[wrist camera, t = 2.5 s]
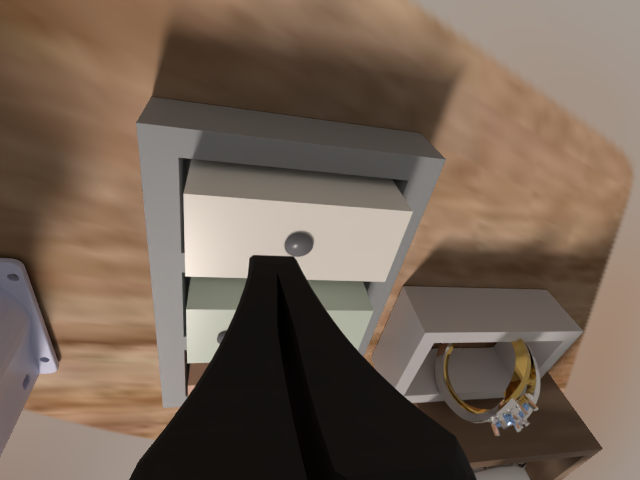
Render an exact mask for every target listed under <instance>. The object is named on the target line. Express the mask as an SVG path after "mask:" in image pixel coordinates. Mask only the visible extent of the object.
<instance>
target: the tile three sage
mask: <svg viewBox="0 0 640 480" xmlns="http://www.w3.org/2000/svg"><path fill="white" fill-rule="evenodd" d="M246 280H247V278H221V277H191V280H190V286H189V293H188V300H187V306H186V329H187V363H210V361H211V360H212V358H213V356H214V354H215V352H216V351H217V349H218V347H219V345H220V343H221V341H222V339H223V337H224V335H225V333H226V331H227V329H228V327H229V325H230V323H231V320H232V318H233V316H234V314H235V311H236V309H237V307H238V304H239V301H240V298H241V296H242V293H243V290H244V287H245V283H246ZM307 281H308V282H309V284H310V286H311V288H312V289H313V291H314V292H315V294H316V296H317V297H318V299H319V300H320V302H321V303H322V305H323V306H324V308H325V309H326V311H327V312H328V314H329V315H330V316H331V318H332V319H333V321H334V322H335V323H336V325H337V326H338V327H339V329H340V330H341V331H342V332H343V334H344V335H345V336H346V337H347V339H348V340H349V341H350V342H351V343H352V345H353V346H354V347H355V348H356V349H357V350H358V349H359V346H360V344H361V341H362V339H363V336H364V334H365V331H366V329H367V326H368V324H369V321H370V319H371V316H372V314H373V311H374V310H373V308H372V305H371V302H370V299H369V297H368V294H367V291H366V288H365V286H364V283H363V281H331V280H307Z"/></svg>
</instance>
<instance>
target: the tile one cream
mask: <svg viewBox="0 0 640 480" xmlns="http://www.w3.org/2000/svg"><path fill="white" fill-rule="evenodd" d="M183 198H184V241H185V277H221V278H247V276H248V267H249V258H250V257H251V256H253V255H268V256H294V258H295V259H296V260H297V262H298V264H299V266H300V268H301V270H302V272H303V274H304V275H305V277H306V279H307V280H331V281H368V282H385V281H386V278H387V276H388V273H389V271H390V268H391V266H392V263H393V261H394V258H395V256H396V253H397V251H398V248H399V246H400V243H401V241H402V238H403V236H404V233H405V231H406V228H407V226H408V223H409V221H410V218H411V216H412V213H413V211H412V209H411V208H410V206H409V205H408V203H407V201H406V200H405V198H404V197H403V195H402V194H401V192H400V191H399V189H398V188H397V186H396V185H395V183H394V181H393V180H392V179H388V178H378V177H368V176H358V175H348V174H338V173H328V172H318V171H308V170H298V169H288V168H278V167H268V166H258V165H248V164H238V163H228V162H218V161H208V160H198V159H191V163H190V167H189V171H188V176H187V180H186V185H185V189H184V193H183Z"/></svg>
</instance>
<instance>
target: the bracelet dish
mask: <svg viewBox="0 0 640 480" xmlns="http://www.w3.org/2000/svg"><path fill="white" fill-rule="evenodd" d="M583 332H584V331H583V330H582V329H581V328H580V327H579V325H578V324H577V323H576V322H575V321H574V320H573V319H572V318H571V316H570V315H569V314H568V313H567V312H566V311H565V310H564V309H563V307H562V306H561V305H560V304H559V303H558V302H557V301H556V300H555V298H554V297H553V296H552V295H551V294H550V293H549V292H548V291H547V290H540V289H500V288H459V287H419V286H403V287H402V289H401V292H400V294H399V296H398V298H397V301H396V303H395V305H394V308H393V310H392V312H391V314H390V317H389V319H388V321H387V323H386V326H385V328H384V330H383V333H382V335H381V337H380V339H379V342H378V344H377V346H376V348H375V351H374V353H373V355H372V361H373V364H374V367H375V370H376V371H377V372H378V373H380V374H381V375H382V376H383V377H384V378H385V379H386V380H387V381H388V382H389V383H390V384H391V385H392V386H393V387H394V388H395V389H397V390H398V391H399V392H400V393H401V394H402V395H403V396H404V397H406V398H407V399H408V400H409V401H410V402H411V403H420V402H437V401H444V399H443V397H442V396H441V394H440V392H439V389H438V386H437V383H436V377H435V361H436V356H437V353H438V350H439V349H431V347H432V346H433V344H434V343H468V342H497V343H496V345H495V346H494V347H492V348H453V350H452V352H451V354H450V357H449V362H448V374H449V379H450V382H451V385H452V387H453V389H454V391H455V392H456V394H457V395H458V396H459V397H460V399H461V400H471V399H488V398H505V397H504V392H505V390H506V389H507V387H508V385H509V383H510V381H511V379H512V376H513V373H514V369H515V362H516V357H515V350H514V347H513V345H512V343H511V342H516V341H518V340H519V339H522V340H523V341H524V342H526V343H527V344H528V345H529V347H530V349H531V350H532V352H533V355H534V357H535V360H536V363H537V366H538V370H539V374H540V379H541V378H542V377H543V376H544V374H545V373H546V372H547V371H548V370H549V369H550V368H551V367H552V366H553V365H554V363H555V362H556V361H557V360H558V359H559V358H560V357H561V356H562V355H563V354H564V353H565V351H566V350H567V349H568V348H569V347H570V346H571V345H572V344H573V343H574V342H575V340H576V339H577V338H578V337H579V336H580V335H581V334H582V333H583ZM526 389H527V384H526V386H525V388H524V390H523V391H522V393H521V394H520V395H519V397H521V396H522V395H523V394H526Z"/></svg>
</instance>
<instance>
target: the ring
mask: <svg viewBox="0 0 640 480" xmlns="http://www.w3.org/2000/svg"><path fill="white" fill-rule="evenodd" d="M511 343H512V345H513V347H514V350H515V357H516V362H515V369H514V373H513V376H512V379H511V381H510V383H509V385H508V387H507V389H506V390H505V392H504V397H505V399H503V400H502V401H501V402H500V403H499V404H498V405H497V406H496V407H495V408H493V409H491V410H486V409H479V408H475V407H472V406H470V405H468V404H466V403H465V402H464V401H463V400H461V399H460V397H459V396H458V395H457V394H456V392H455V391H454V389H453V387H452V385H451V382H450V379H449V374H448V362H449V357H450V354H451V352H452V350H453V348H454V347H455V346H456V344H457V343H441V345H440V347H439V350H438V353H437V356H436V361H435V377H436V383H437V386H438V389H439V392H440V394H441V396H442V397H443V399H444V401H445V402H446V403H447V405H448V406H449V407H450V408H451V409H452V410H453V411H454V412H455V413H456V414H457V415H458V416H460V417H461V418H463V419H465V420H467V421H470V422H473V423H479V424H481V423H491V426H492V429H493V431H494V434H495V436H500V433H499V430H498V427H503V429H506V428H507V427H508V426H512V425H513V426H514V428H515V430H516V432H519V431H521V429H522V428H523V426H522V425H523V424H524V425H525V426H528V425H529V424H530V423H529V422H528V421H527V418H528V417H529V416H530V414H531V413H532V411H537V410H538V407H537V406H536V403H537V400H538V397H539V393H540V374H539V370H538V366H537V363H536V360H535V357H534V355H533V352H532V350H531V349H530V347H529V345H528V344H527V343H526V342H524V341H523V340H522V339H519V340H518V341H516V342H511ZM526 384H527V389H526V394H523V395H522V396H521V398H519V399H518V400H516V399H517V398H518V397H519V395H520V394H521V393H522V391H523V390H524V388H525V386H526Z"/></svg>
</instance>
